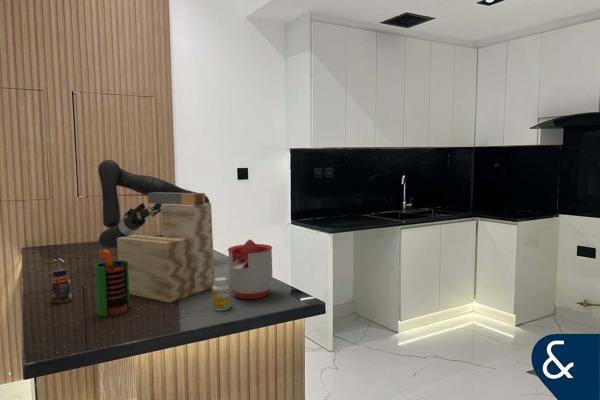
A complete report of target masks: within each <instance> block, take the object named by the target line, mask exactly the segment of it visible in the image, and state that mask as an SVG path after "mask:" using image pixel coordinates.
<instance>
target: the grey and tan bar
mask: <svg viewBox="0 0 600 400" xmlns="http://www.w3.org/2000/svg"><path fill="white" fill-rule="evenodd" d="M205 195H206V193H205V192H197V193H163V192H155V193H148V196H147V199H148V201H147V202H148V204H156V203H157V204H162V205H163V204H182V205H199V204H205Z"/></svg>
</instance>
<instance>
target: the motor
mask: <svg viewBox="0 0 600 400" xmlns="http://www.w3.org/2000/svg"><path fill="white" fill-rule="evenodd" d="M98 257H99V258H103V259H104V261H101V262H99V263H96V264H94V275H95V276H94V277H95V278H94V279H95V292H96V294H95V295H96V314H97V315H98V316H99V317H106V318H107V317H108V316H115V315H121V314H123V313H125V312H127V311H128V308H131V304H130V303H131V301H130V294H129V276H128V261H123V260H118V259H117V260H115V259H114V260H113V257H112V254H111V251H110V250H109V249H101V250H99V251H98Z"/></svg>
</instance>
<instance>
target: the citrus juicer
mask: <svg viewBox="0 0 600 400" xmlns="http://www.w3.org/2000/svg"><path fill="white" fill-rule="evenodd" d="M272 249H273V246H272V245H269V244H261V243H255V241H253V240H252V239H248V240H246V242H245V243H244V244H239V245H234V246H230V247H229V248H227V251H228V266H229V267H228V269H229V270H228V271H229V280H230V285H231V288H232V291H233V293H234V295H235V297H236V298H239V299H243V300H244V299H246V300H258V299H261V298H263V297H266V296H267V295H269V292H270V289H271V285H272V282H273V281H272V280H273V257H272V256H273V252H272Z"/></svg>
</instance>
